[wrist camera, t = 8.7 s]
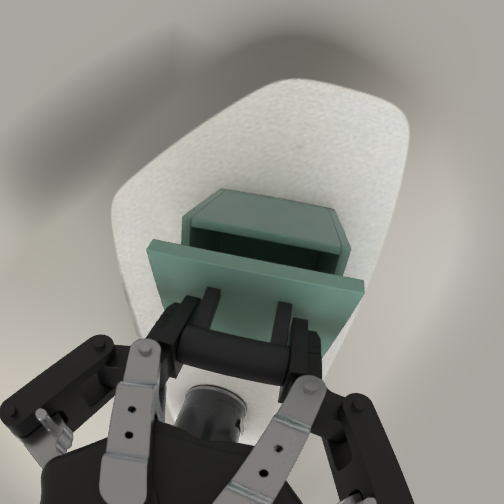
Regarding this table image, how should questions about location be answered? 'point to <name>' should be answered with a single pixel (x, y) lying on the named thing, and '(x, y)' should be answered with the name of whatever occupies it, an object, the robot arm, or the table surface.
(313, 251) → the green storage box
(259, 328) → the green square slab
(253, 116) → the table surface
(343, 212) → the table surface
